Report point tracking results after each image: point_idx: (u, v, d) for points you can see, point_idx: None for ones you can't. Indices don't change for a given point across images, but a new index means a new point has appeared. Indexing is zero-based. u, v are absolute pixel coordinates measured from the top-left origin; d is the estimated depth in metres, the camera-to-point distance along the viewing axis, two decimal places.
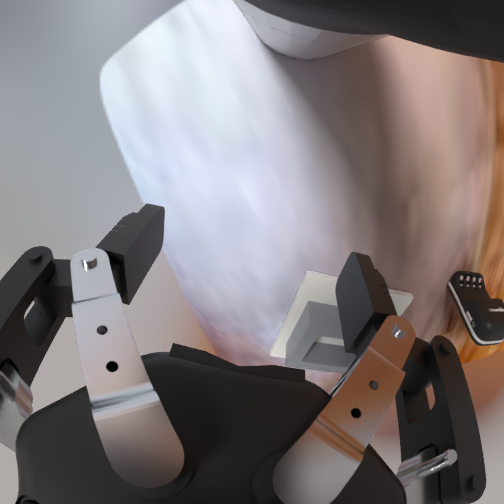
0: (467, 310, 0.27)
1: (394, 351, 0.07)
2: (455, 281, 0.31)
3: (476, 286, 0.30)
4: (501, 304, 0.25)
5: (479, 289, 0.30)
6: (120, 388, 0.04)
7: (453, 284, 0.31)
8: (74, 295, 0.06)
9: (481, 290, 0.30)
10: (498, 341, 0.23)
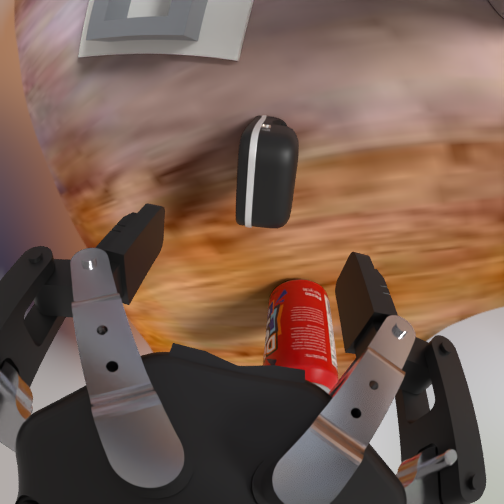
0: (270, 124, 0.19)
1: (394, 351, 0.07)
2: (275, 119, 0.24)
3: None
4: None
5: None
6: (120, 388, 0.04)
7: (270, 117, 0.23)
8: (74, 295, 0.06)
9: None
10: (249, 205, 0.18)
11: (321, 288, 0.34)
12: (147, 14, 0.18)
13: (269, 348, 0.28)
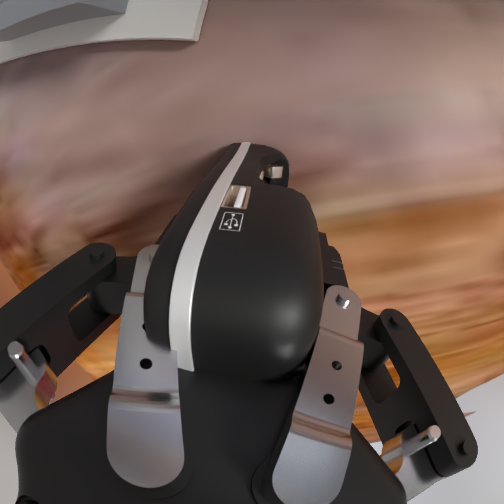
0: (249, 185, 0.08)
1: (344, 323, 0.07)
2: (267, 152, 0.13)
3: None
4: None
5: None
6: (120, 388, 0.04)
7: (256, 149, 0.13)
8: (132, 286, 0.07)
9: None
10: None
11: None
12: None
13: None
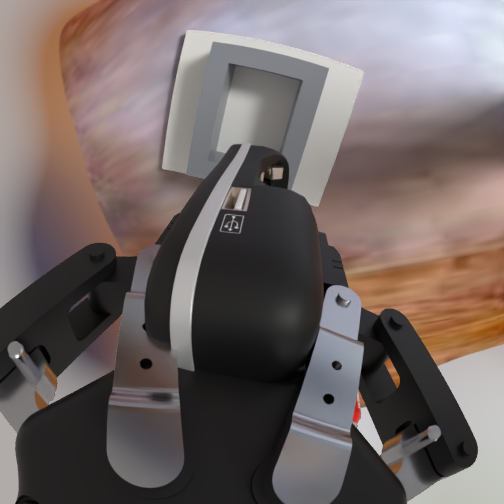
0: (249, 187, 0.08)
1: (345, 323, 0.07)
2: (267, 153, 0.13)
3: None
4: None
5: None
6: (120, 388, 0.04)
7: (256, 150, 0.13)
8: (132, 286, 0.07)
9: None
10: None
11: None
12: None
13: None
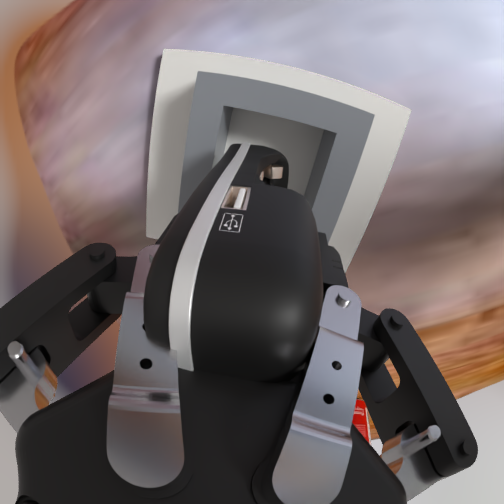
0: (249, 186, 0.08)
1: (345, 323, 0.07)
2: (267, 152, 0.13)
3: None
4: None
5: None
6: (120, 388, 0.04)
7: (256, 149, 0.13)
8: (133, 286, 0.07)
9: None
10: None
11: (363, 403, 0.38)
12: None
13: None
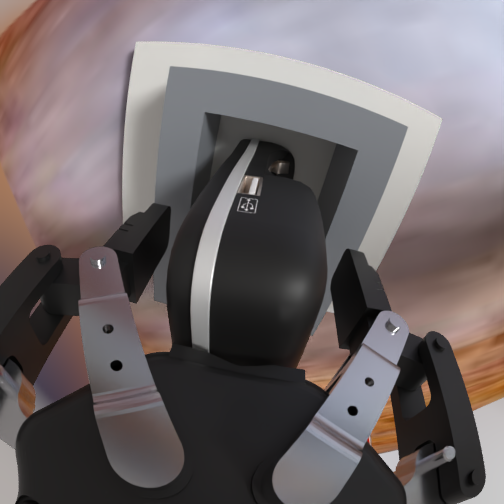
0: (261, 176, 0.09)
1: (388, 347, 0.07)
2: (275, 149, 0.13)
3: None
4: None
5: None
6: (120, 388, 0.04)
7: (265, 145, 0.13)
8: (81, 293, 0.06)
9: None
10: None
11: None
12: None
13: None
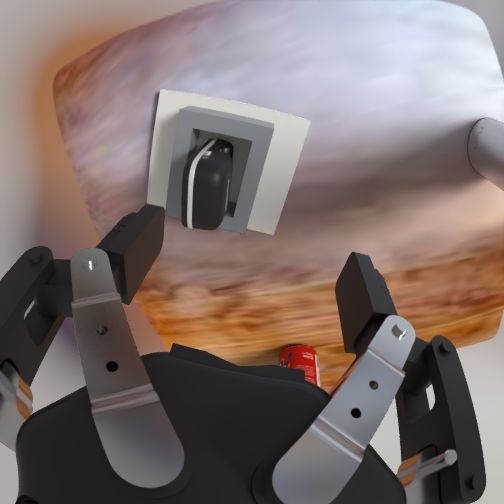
0: (212, 151, 0.26)
1: (394, 351, 0.07)
2: (223, 142, 0.30)
3: None
4: (227, 204, 0.28)
5: None
6: (120, 388, 0.04)
7: (219, 141, 0.30)
8: (74, 295, 0.06)
9: None
10: (190, 213, 0.24)
11: (313, 350, 0.52)
12: None
13: None
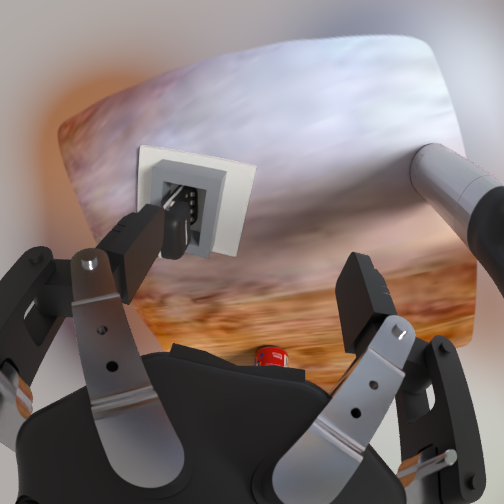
0: (175, 201, 0.36)
1: (394, 351, 0.07)
2: (188, 188, 0.40)
3: None
4: (188, 239, 0.38)
5: None
6: (120, 388, 0.04)
7: (185, 187, 0.40)
8: (74, 295, 0.06)
9: None
10: None
11: (283, 351, 0.61)
12: None
13: None
